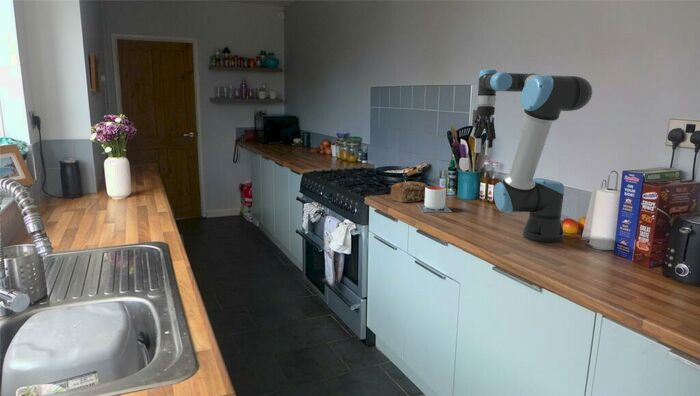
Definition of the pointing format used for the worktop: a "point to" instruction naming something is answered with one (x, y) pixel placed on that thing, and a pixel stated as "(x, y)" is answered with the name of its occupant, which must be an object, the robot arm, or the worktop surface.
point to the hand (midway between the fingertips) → (482, 154)
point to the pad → (426, 210)
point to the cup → (435, 197)
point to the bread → (408, 191)
